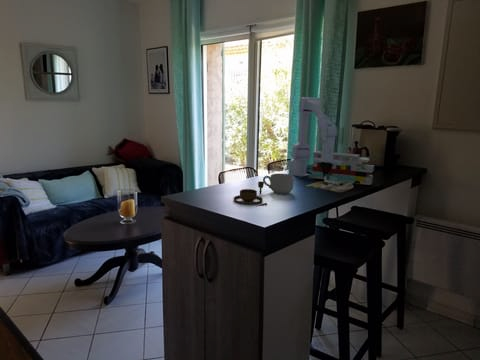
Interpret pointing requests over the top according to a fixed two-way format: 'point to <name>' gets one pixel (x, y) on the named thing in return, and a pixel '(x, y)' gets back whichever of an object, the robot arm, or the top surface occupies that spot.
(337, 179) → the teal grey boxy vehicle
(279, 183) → the teacup
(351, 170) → the toy vehicle
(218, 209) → the top surface
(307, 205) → the top surface
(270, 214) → the top surface
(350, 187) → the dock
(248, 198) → the place setting
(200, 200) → the top surface
